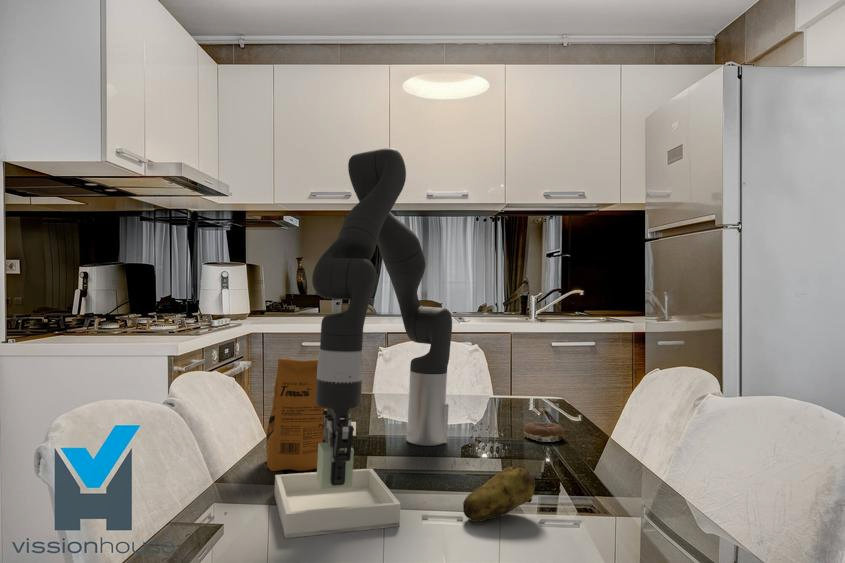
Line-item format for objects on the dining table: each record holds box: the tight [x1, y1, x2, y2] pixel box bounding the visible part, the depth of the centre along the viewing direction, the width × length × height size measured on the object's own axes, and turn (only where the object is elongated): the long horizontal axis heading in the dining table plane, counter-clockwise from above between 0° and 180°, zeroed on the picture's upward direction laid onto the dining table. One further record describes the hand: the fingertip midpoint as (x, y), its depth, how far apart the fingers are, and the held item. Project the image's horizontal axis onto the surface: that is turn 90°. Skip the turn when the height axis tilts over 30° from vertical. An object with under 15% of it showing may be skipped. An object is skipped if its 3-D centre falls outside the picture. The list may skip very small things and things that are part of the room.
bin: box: [273, 468, 402, 539], centre depth 92 cm, size 18×18×4 cm
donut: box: [522, 422, 565, 438], centre depth 146 cm, size 11×11×4 cm
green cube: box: [316, 443, 355, 489], centre depth 93 cm, size 5×5×6 cm
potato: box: [462, 466, 536, 522], centre depth 93 cm, size 8×13×8 cm, turn 99°
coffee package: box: [265, 357, 328, 472], centre depth 115 cm, size 10×12×22 cm
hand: (334, 478), depth 92 cm, fingers closed on green cube, 5 cm apart
